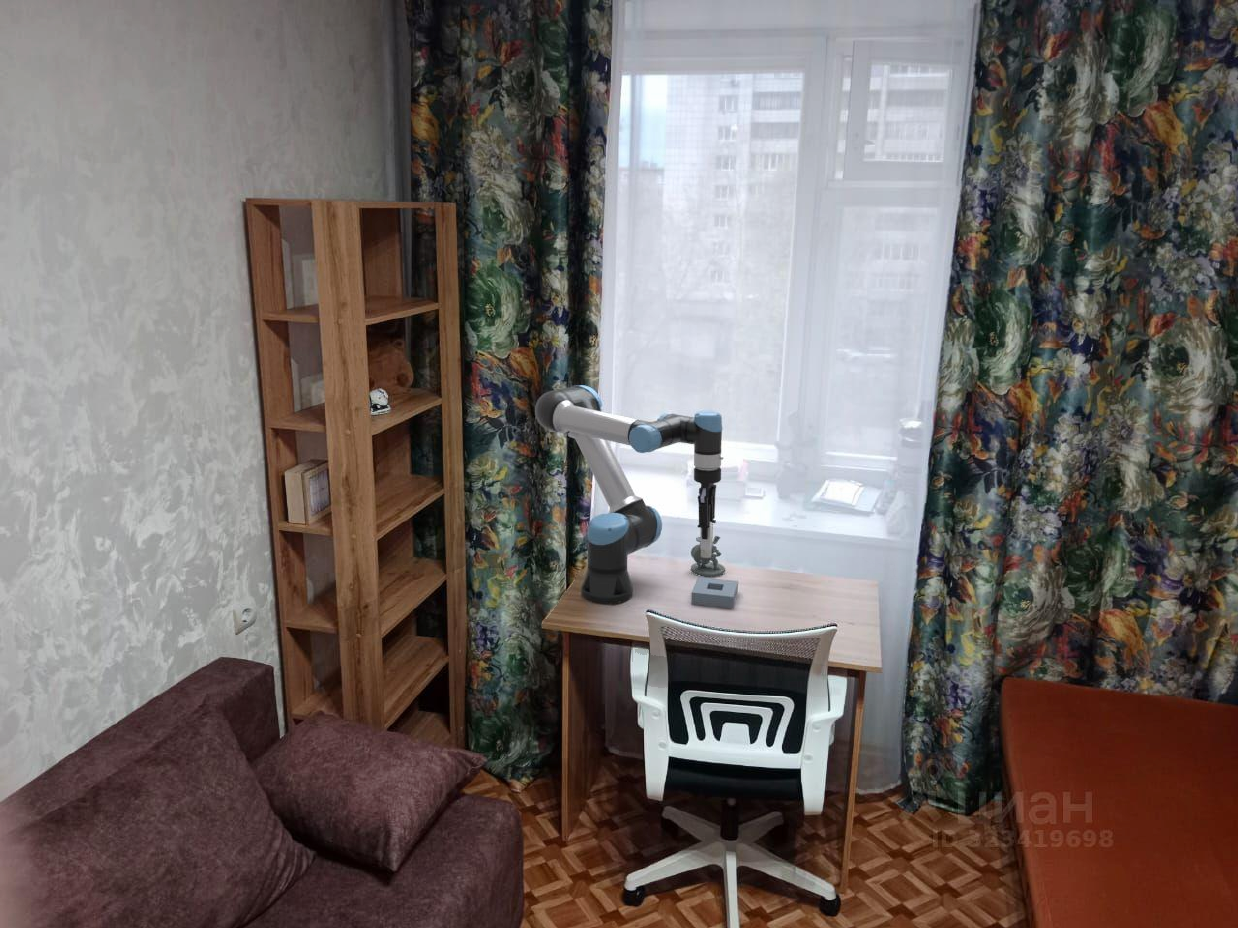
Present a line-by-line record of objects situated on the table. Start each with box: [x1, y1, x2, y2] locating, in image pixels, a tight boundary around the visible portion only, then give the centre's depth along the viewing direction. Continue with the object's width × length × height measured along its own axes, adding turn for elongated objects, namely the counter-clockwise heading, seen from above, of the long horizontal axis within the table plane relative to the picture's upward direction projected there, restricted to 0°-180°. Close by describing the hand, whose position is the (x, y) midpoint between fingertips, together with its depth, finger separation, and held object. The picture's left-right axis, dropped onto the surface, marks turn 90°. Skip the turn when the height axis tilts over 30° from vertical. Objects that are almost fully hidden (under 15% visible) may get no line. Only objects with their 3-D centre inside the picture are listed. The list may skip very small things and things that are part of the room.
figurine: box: [690, 535, 726, 578], centre depth 288 cm, size 11×11×12 cm
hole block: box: [690, 576, 739, 609], centre depth 269 cm, size 12×12×4 cm
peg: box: [701, 522, 713, 558], centre depth 261 cm, size 3×3×10 cm
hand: (706, 547), depth 261 cm, fingers closed on peg, 2 cm apart
